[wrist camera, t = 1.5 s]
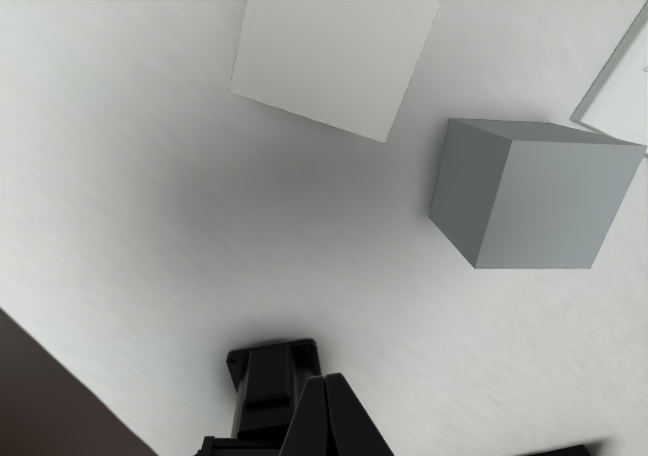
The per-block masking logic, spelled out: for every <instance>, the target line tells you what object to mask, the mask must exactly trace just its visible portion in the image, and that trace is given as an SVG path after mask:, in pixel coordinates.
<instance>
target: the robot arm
mask: <svg viewBox="0 0 648 456" xmlns="http://www.w3.org/2000/svg"><path fill="white" fill-rule="evenodd" d="M309 346H311V347H310V348H308V347H309ZM232 358H235V359H232ZM226 362H227V365H228V368H229V371H230V374H231V377H232V380H233V383H234V386H235V389H236V392H237V400H236V407H235V413H234V419H233V426H232V432H231V438H215V436H205V438H204V441H203V445H202V448H201V450H198V452H197V454H196V455H194V456H395V455H394V454H393V452H392V451H391V449H390V448H389V446H388V445H387V443H386V441H385V440H384V438H383V437H382V435H381V434H380V432H379V430H378V429H377V427H376V426H375V424H374V423H373V421H372V420H371V418H370V416H369V415H368V413H367V412H366V410H365V409H364V407H363V406H362V404H361V402H360V401H359V399H358V398H357V396H356V395H355V393H354V392H353V390H352V388H351V387H350V385H349V384H348V382H347V381H346V379H345V378H344V376H343V375H342V374H341V373H333V374H327V375H326V376H325V378H324V376H322V375H321V369H320V363H319V357H318V351H317V345H316V342H315V341H313V340H304V341H298V342H291V343H285V344H279V345H272V346H266V347H259V348H253V349H246V350H240V351H233V352H230V353H229V354H228V355H227V359H226Z"/></svg>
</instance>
